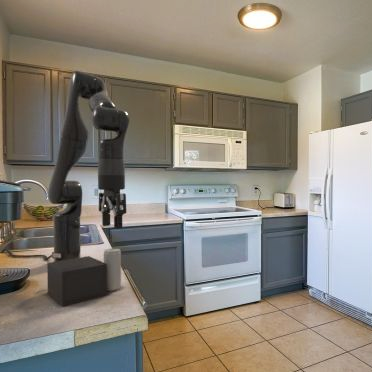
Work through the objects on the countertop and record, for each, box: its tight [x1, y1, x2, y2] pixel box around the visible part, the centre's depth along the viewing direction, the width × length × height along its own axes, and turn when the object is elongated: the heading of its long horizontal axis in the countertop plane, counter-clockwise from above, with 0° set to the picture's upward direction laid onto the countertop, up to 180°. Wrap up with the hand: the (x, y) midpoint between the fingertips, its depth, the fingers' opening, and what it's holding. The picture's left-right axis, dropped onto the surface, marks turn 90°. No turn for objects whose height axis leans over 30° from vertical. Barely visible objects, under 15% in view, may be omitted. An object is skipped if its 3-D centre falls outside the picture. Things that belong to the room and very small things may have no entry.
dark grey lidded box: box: [46, 255, 108, 307], centre depth 92 cm, size 14×12×9 cm
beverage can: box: [103, 247, 122, 292], centre depth 97 cm, size 5×5×12 cm
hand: (112, 227), depth 96 cm, fingers open, 8 cm apart
